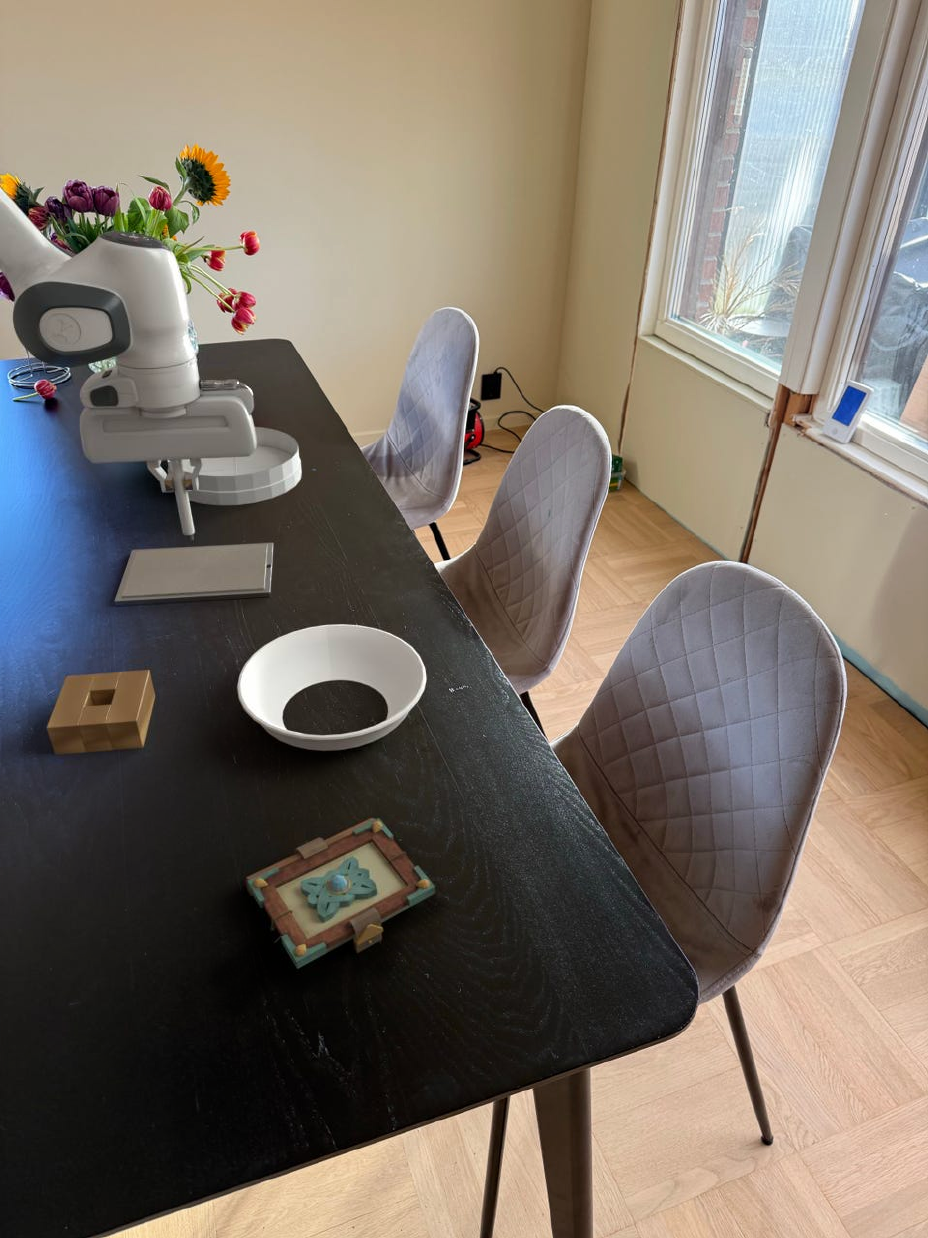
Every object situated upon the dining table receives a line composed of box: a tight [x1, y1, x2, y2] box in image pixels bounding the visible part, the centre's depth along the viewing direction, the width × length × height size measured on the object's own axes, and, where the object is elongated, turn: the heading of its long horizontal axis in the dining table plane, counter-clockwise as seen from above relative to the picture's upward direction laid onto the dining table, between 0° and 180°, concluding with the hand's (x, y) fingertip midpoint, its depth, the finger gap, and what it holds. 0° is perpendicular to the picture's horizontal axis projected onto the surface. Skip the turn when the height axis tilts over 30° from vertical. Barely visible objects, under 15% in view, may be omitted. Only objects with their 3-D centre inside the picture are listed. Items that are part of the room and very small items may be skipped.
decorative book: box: [245, 817, 436, 970], centre depth 70 cm, size 13×18×5 cm
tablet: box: [114, 542, 275, 607], centre depth 119 cm, size 20×14×1 cm
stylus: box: [169, 460, 196, 542], centre depth 109 cm, size 2×2×12 cm
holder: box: [46, 669, 156, 756], centre depth 90 cm, size 9×9×5 cm
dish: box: [166, 426, 303, 506], centre depth 146 cm, size 22×22×5 cm
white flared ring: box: [236, 623, 427, 752], centre depth 92 cm, size 20×20×6 cm
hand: (180, 489), depth 108 cm, fingers closed on stylus, 1 cm apart
